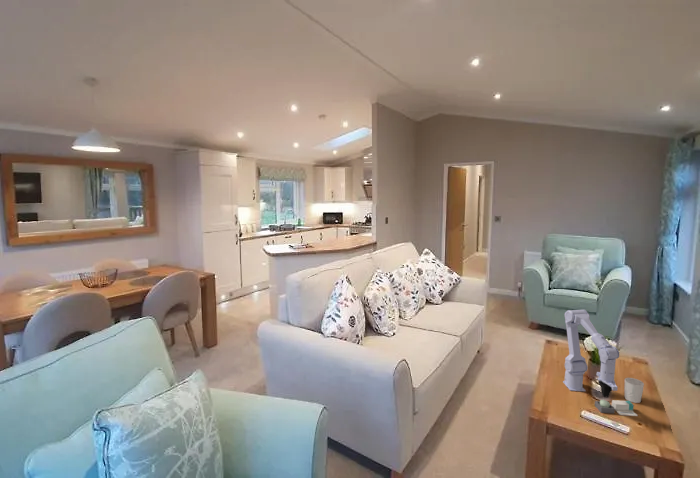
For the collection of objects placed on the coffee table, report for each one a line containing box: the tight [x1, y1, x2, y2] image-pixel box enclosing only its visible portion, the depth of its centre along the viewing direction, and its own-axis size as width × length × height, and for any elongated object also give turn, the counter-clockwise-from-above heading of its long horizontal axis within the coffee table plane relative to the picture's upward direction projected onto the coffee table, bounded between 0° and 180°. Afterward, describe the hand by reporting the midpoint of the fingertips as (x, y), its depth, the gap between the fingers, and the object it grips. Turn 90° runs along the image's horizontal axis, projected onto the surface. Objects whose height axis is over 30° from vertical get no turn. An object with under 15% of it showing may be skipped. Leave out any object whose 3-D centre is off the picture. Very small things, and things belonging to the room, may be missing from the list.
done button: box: [599, 399, 611, 408], centre depth 180 cm, size 4×4×3 cm
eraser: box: [611, 399, 635, 412], centre depth 180 cm, size 8×3×3 cm, turn 84°
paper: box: [611, 404, 639, 417], centre depth 179 cm, size 8×8×1 cm
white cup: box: [623, 377, 645, 404], centre depth 188 cm, size 8×8×10 cm
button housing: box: [594, 400, 616, 414], centre depth 180 cm, size 6×6×2 cm
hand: (605, 396), depth 179 cm, fingers closed
